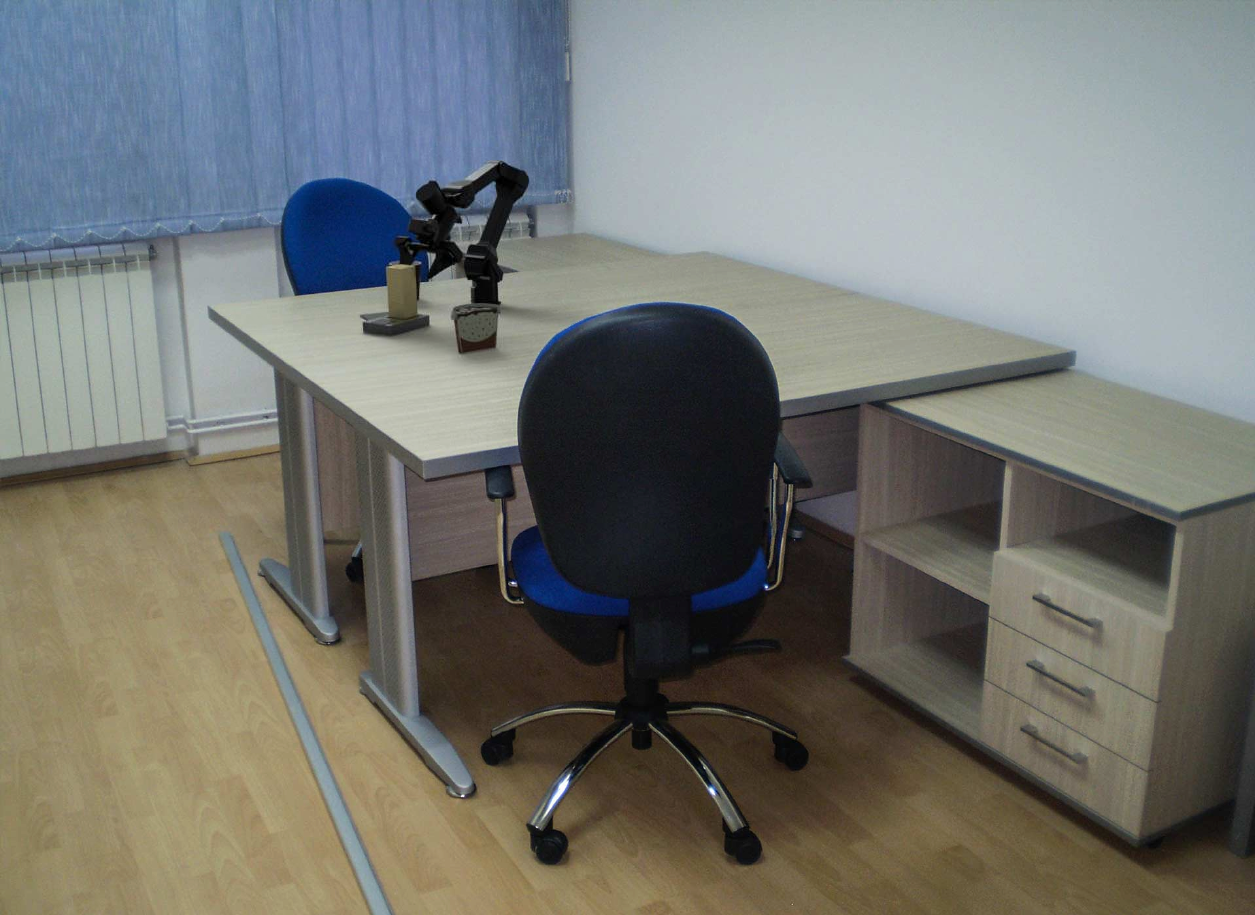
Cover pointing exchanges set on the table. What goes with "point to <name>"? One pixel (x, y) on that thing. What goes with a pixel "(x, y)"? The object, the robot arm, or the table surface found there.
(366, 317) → the rubber pad
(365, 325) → the grey tray
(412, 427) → the table surface
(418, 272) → the coffee mug
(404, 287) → the tan rectangular block
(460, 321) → the food container
